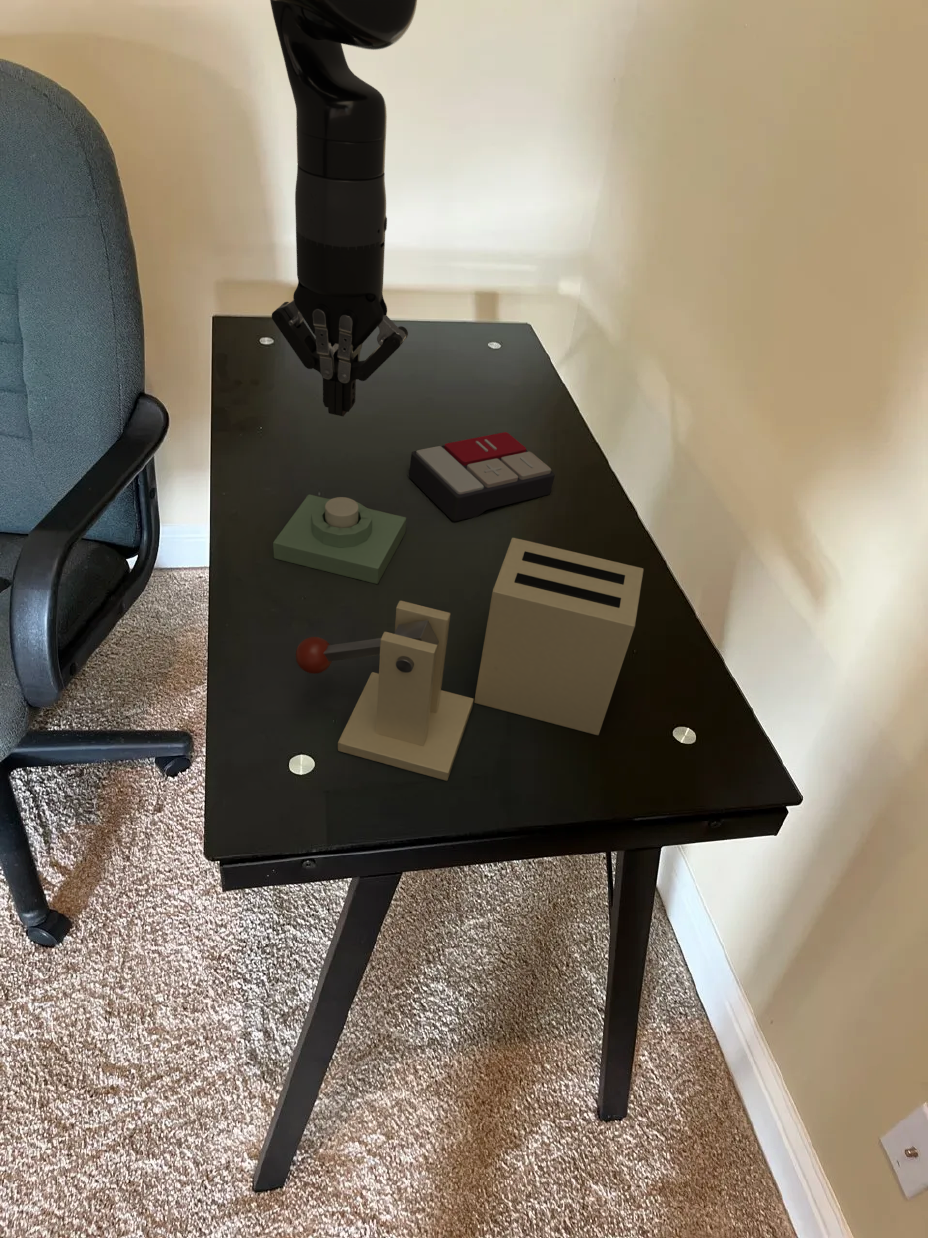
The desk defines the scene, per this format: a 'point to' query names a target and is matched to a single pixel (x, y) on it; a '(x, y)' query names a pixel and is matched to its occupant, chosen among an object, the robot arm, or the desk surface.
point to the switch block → (340, 541)
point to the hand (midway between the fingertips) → (339, 411)
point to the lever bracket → (409, 703)
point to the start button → (341, 512)
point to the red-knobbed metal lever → (354, 647)
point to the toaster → (557, 635)
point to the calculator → (479, 474)
